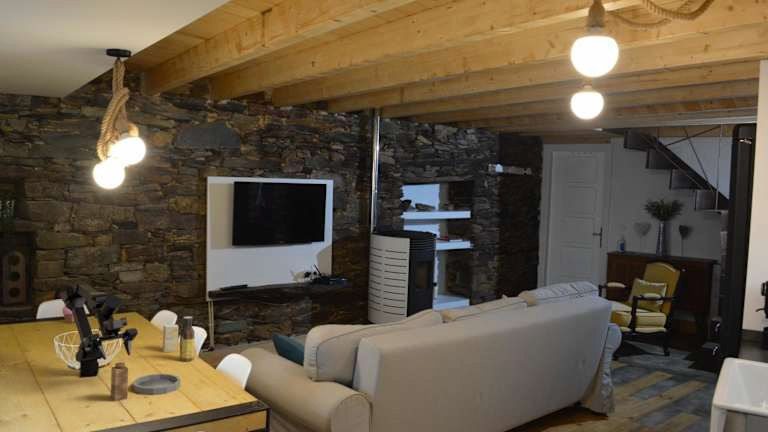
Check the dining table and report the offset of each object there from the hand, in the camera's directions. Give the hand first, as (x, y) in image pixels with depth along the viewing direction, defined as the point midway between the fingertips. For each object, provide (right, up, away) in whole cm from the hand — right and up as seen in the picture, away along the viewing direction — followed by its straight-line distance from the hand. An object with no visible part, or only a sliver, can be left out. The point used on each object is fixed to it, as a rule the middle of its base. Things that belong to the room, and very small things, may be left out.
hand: (117, 357), depth 226 cm
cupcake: (-70, -5, +100) cm, 122 cm away
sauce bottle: (+12, -12, +43) cm, 46 cm away
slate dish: (+12, -14, +7) cm, 20 cm away
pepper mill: (+3, -14, -6) cm, 15 cm away
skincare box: (0, -11, +56) cm, 57 cm away
